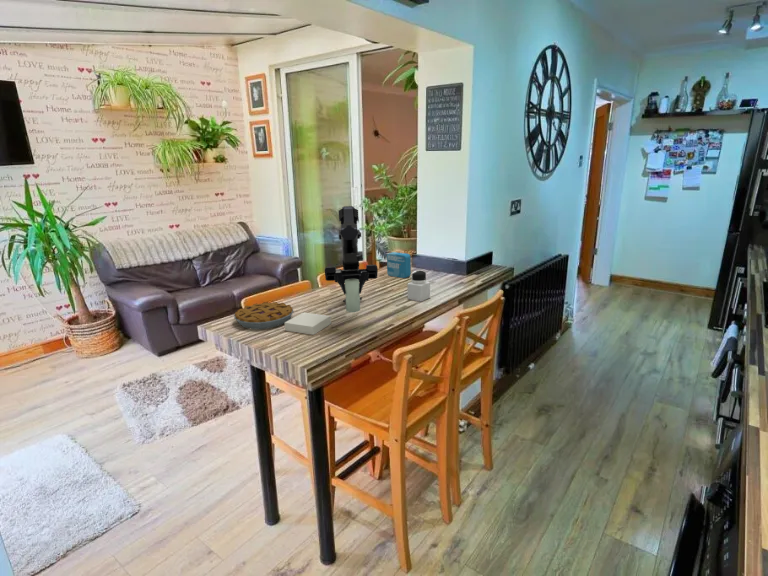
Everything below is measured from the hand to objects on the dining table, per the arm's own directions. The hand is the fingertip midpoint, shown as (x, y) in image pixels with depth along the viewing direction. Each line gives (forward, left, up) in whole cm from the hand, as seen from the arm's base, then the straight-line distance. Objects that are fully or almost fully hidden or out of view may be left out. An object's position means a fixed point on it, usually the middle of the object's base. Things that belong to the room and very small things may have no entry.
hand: (352, 293), depth 155 cm
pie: (0, -37, -14) cm, 40 cm away
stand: (+2, -17, -13) cm, 22 cm away
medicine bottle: (-42, +13, -14) cm, 46 cm away
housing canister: (-1, -1, -7) cm, 7 cm away
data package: (-77, -7, -14) cm, 78 cm away
